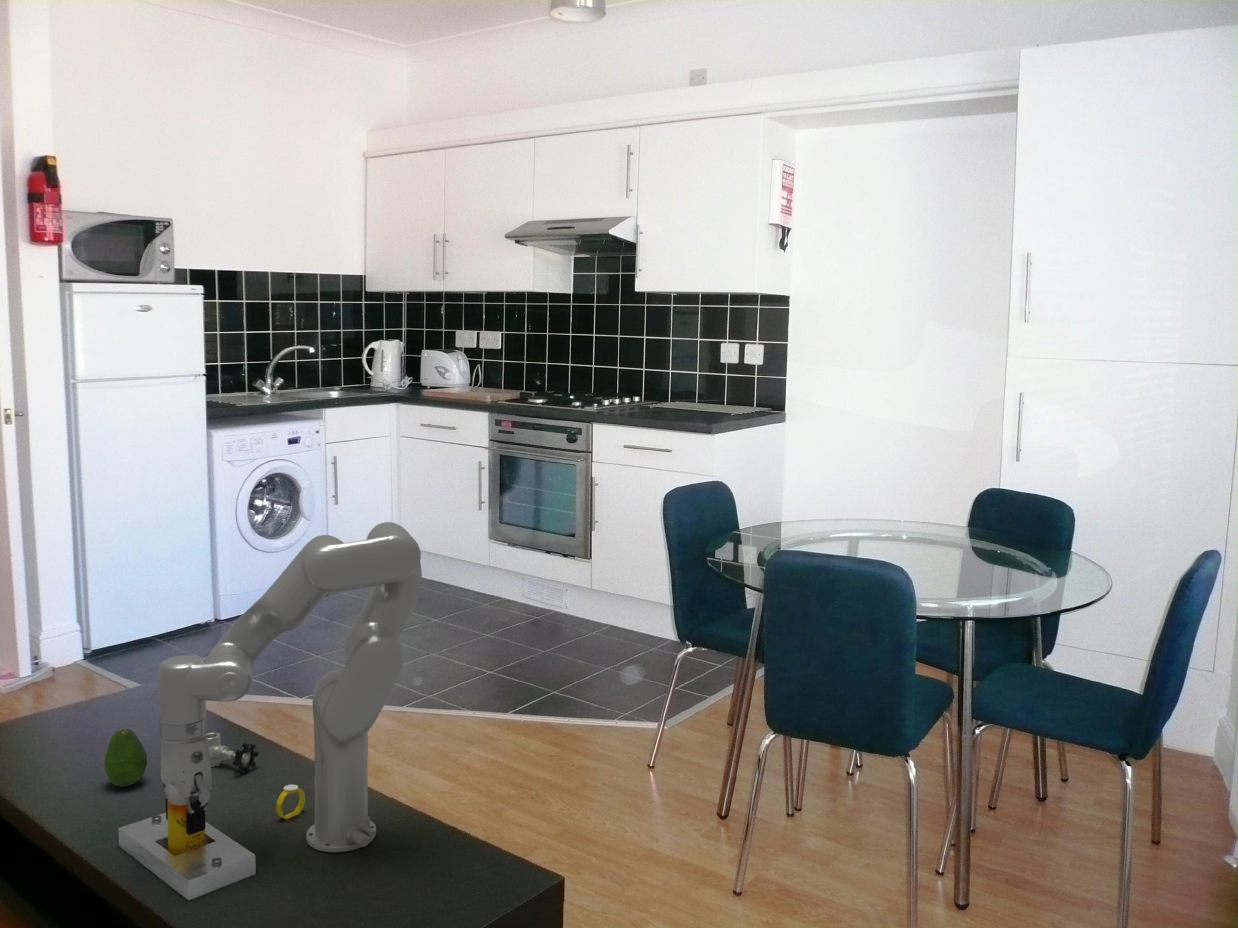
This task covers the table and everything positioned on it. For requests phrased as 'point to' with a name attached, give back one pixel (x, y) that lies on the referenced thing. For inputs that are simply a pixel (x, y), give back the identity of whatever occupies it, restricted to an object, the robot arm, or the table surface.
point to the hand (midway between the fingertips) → (185, 823)
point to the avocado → (125, 758)
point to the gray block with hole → (187, 857)
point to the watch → (286, 791)
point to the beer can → (180, 823)
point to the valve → (230, 753)
